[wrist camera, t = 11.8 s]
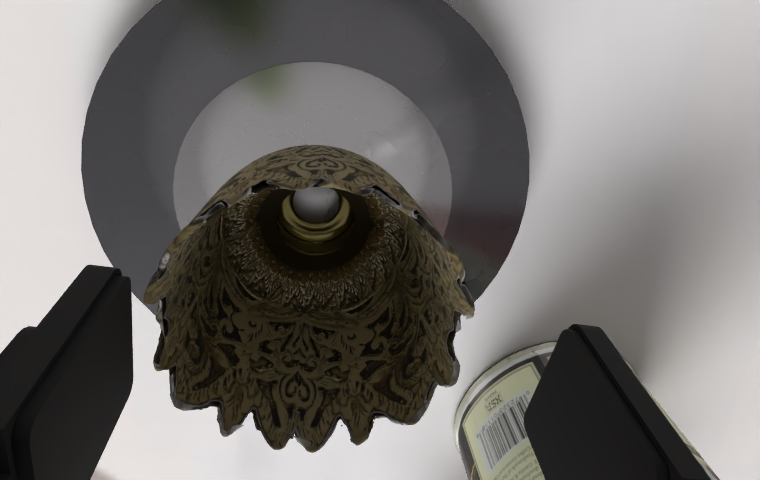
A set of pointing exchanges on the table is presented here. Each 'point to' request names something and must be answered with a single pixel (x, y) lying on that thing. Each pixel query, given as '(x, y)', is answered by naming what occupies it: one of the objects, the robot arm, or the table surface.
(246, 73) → the gray dinner plate
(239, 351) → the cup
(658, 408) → the robot arm
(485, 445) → the coffee can
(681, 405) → the table surface
